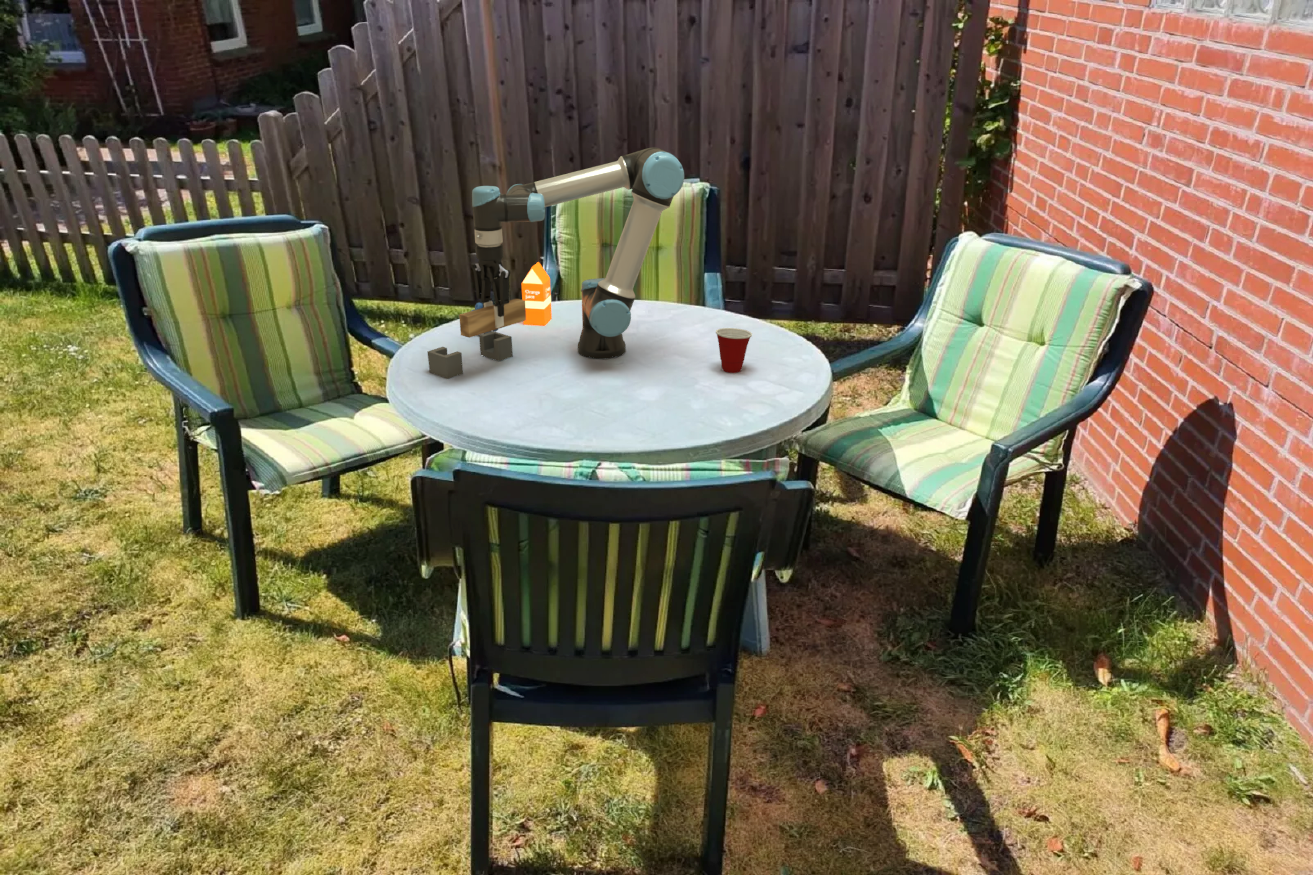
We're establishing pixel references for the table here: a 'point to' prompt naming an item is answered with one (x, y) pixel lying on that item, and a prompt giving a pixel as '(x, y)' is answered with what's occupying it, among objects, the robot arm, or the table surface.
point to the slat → (491, 318)
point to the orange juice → (537, 296)
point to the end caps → (451, 364)
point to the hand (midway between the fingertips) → (494, 325)
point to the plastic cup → (732, 348)
